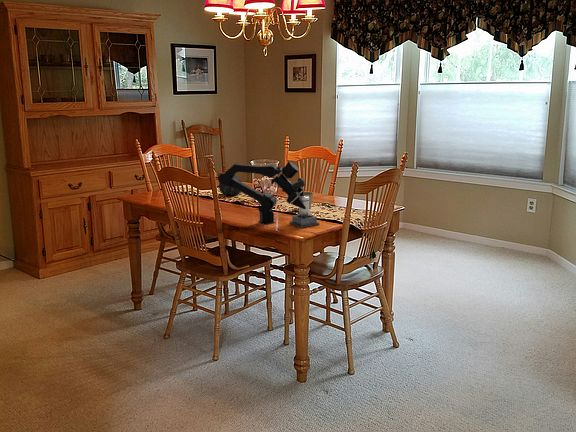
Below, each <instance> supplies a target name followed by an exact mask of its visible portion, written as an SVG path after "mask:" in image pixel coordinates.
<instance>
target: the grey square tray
mask: <svg viewBox="0 0 576 432" xmlns="http://www.w3.org/2000/svg"><path fill="white" fill-rule="evenodd" d="M291 217H292V220H290V221H289V224H290V225H292V226H296V227H298V228H300V229H302V228H308V227H314V226H320V222H318V221H317V216H314V215H312V214H311V213H309V218H303V219H301V218H299V214H295V215H292V216H291Z"/></svg>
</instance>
